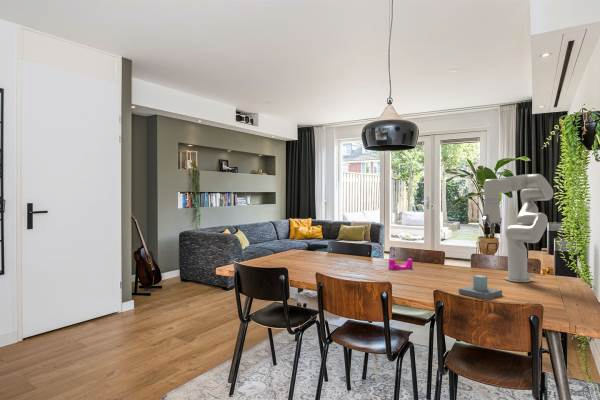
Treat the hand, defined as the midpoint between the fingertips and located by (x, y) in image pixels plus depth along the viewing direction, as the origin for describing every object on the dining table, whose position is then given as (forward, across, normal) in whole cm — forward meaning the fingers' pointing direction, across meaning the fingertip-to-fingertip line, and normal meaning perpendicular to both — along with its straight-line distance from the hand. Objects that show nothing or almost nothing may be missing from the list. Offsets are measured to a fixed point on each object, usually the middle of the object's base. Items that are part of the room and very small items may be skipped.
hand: (492, 233), depth 200 cm
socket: (+28, +22, +6) cm, 36 cm away
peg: (+28, +22, +6) cm, 36 cm away
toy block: (+29, +3, -60) cm, 67 cm away
